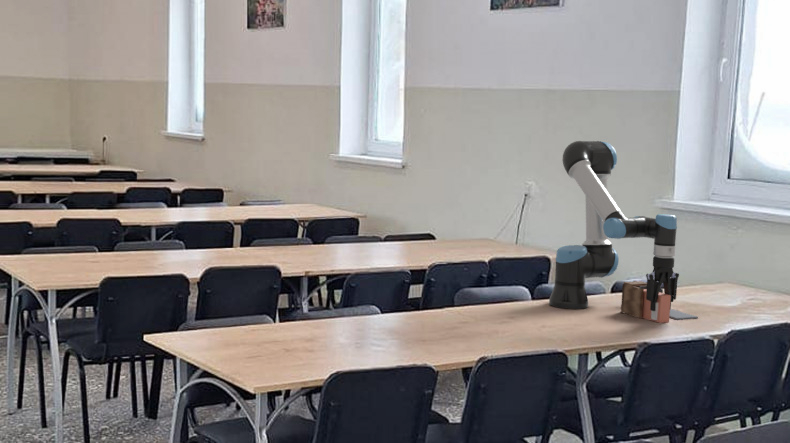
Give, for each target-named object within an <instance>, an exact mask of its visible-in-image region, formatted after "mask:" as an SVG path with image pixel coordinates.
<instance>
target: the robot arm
mask: <svg viewBox="0 0 790 443" xmlns="http://www.w3.org/2000/svg"><path fill="white" fill-rule="evenodd" d="M561 162H562V165H563V168H564V170H565V172H566V173H567V175H568V177H569V178H570V179H573V180H574V181H575V182H576V184H577V185H578V186H579V188H580V189H581V191H582V192H583V194H584V195H585V241H583V243H581V244H582V245H580V244H575V245H573V244H572V245H571V244H569V245H565V246H561V247H559V248H557V250H556V256H555V272H554V273H555V274H554V286H553V289H552V291H551V294H550V296H549V301H548V305H549V306H551V307H555V308H560V309H570V310H578V309H579V310H580V309H581V310H582V309H583V310H584V309H586V308H588V307H589V300H588V299H589V298H588V295H587V291H586V288H585V286H586V279H592V278H605V277H610V276H612V275H613V274H614V273H615V272H616V270H617V269H618V267H619V255H618V253H617V251H616V249H615V248H613V243H612V242H611V241H610V240H609V239H615V240H616V239H617V240H620V239H633V238H634V239H637V238H648V239H653V240H654V241H653V253H652V254H653V259H652V266H653V268H652V271H651V273H646V274H645V278H646V282H647V293H646V299H647V300H649V301H650V302H651V306H650V310H651V319H653V320H657V318H658V302H657V298H658V294H659V290H660V287H661V286H663V293H664V294H668V295H671V300H670V310H672V303H673V302H674V300H676V299H677V291H678V280H679V276H680V274H679V273H678V272H674V269H673V268H675V258H674V257H675V255H676V254H675V253H676V239H677V238H676V236H677V228H678V225H677V221H678V220H677V218H678V217H677V216H676V215H673V214H668V213H667V214H666V213H661V214H659V213H658V214H656V215H655V218H653V217H647V216H644V215H637V216H636V215H635V216H634V217H626V216H625V215H624V213H623V211H621V210H622V209H620V207H619V206H618V205H617V203H616V201H615V200H614V199H613V197H612V196H611V195H610V193H609V191H608V179H609V177H611V175H612V170H614V169H615V167H616V165H617V162H618V156H617V152H616V148H615V147H614V146H612V144H611V143H609V142H606V141H600V140H596V141H595V140H593V141H592V140H591V141H590V140H589V141H587V140H578V141H577V140H576V141H574V142H571V143H570V144H568V145H567V146H566V147H565V149H564V151H563V153H562V161H561Z"/></svg>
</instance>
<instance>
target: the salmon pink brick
mask: <svg viewBox="0 0 790 443" xmlns="http://www.w3.org/2000/svg"><path fill="white" fill-rule="evenodd" d="M646 293H647V289H644V292H643V307H642V318H644V319H645V320H649V321H653V322H655V323H658V322H659V323H661V324H662V323H663V324H664V323H670V318H669V315H670V310H671V309H670V300H671V295H668V294H665V293H664V292H663V293H660V292H659V294H658V298H657V302H658V318H657V320H653V319H651V310H650V306H651V302H650V301H649V300H647V299H646Z"/></svg>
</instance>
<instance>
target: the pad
mask: <svg viewBox="0 0 790 443" xmlns="http://www.w3.org/2000/svg"><path fill="white" fill-rule="evenodd" d="M669 319H673V320H676V321H677V320H678V321H679V320H691V319H693V320H694V319H699V316H697V315H693V314H690V313H687V312H682V311H680V310H675V309H670V315H669Z"/></svg>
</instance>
